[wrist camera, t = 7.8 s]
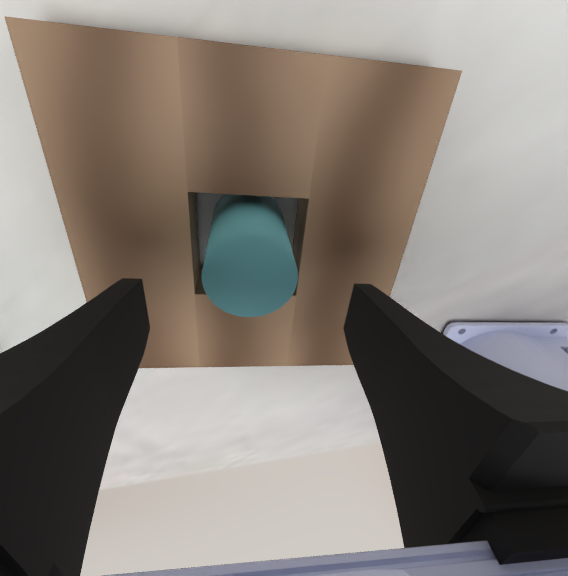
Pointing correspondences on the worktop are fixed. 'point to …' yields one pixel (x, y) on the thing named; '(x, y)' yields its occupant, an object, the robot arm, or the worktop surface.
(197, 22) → the worktop surface
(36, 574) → the robot arm
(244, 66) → the walnut collar plate
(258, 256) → the teal peg
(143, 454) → the worktop surface
